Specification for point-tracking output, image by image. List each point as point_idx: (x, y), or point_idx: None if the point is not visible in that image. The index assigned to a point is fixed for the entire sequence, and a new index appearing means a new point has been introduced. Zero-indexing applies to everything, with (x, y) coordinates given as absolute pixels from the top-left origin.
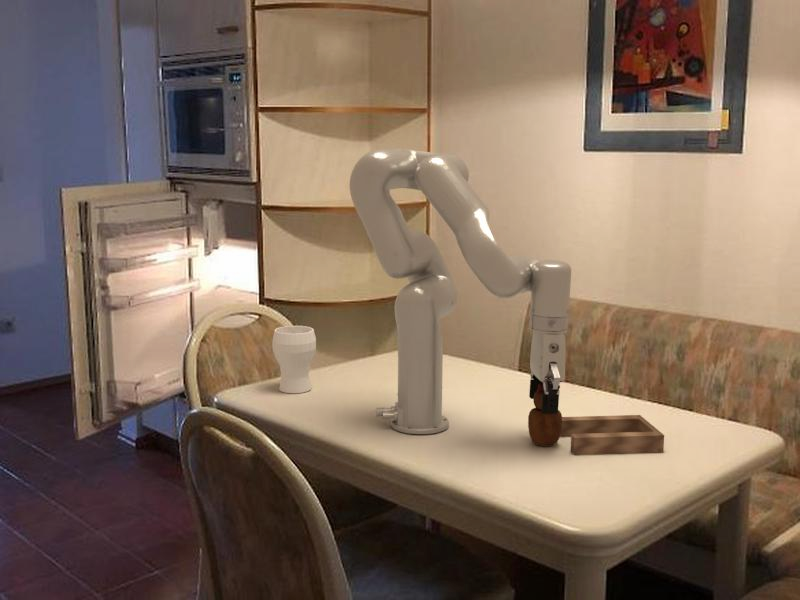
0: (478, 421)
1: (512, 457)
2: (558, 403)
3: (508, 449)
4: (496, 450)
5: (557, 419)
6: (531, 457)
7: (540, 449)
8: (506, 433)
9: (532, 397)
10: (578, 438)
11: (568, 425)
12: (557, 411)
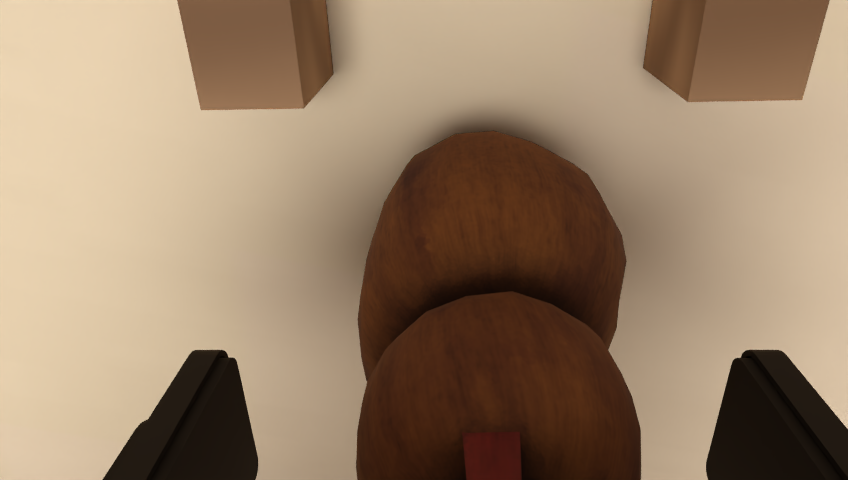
0: (88, 442)
1: (665, 408)
2: (846, 428)
3: None
4: None
5: (616, 252)
6: (693, 327)
7: None
8: (276, 361)
9: (253, 461)
10: (806, 61)
11: (304, 9)
12: (785, 361)
